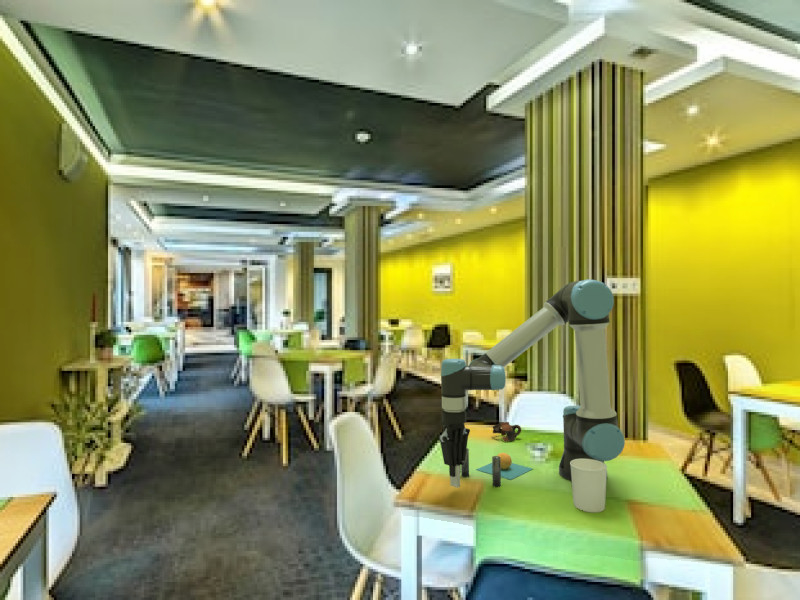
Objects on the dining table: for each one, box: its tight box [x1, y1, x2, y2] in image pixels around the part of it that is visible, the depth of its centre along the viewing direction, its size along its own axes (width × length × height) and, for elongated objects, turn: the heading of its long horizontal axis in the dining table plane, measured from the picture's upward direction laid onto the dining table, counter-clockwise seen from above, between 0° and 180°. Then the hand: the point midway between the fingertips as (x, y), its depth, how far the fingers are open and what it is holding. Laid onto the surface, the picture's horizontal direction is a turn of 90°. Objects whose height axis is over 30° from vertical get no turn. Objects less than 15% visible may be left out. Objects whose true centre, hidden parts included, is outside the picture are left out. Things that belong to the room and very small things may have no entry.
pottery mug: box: [492, 421, 522, 442], centre depth 204 cm, size 12×10×8 cm
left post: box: [460, 447, 470, 478], centre depth 162 cm, size 3×3×9 cm
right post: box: [491, 455, 502, 488], centre depth 153 cm, size 3×3×9 cm
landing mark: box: [475, 462, 534, 481], centre depth 167 cm, size 14×14×1 cm
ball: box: [496, 452, 513, 469], centre depth 168 cm, size 6×6×6 cm
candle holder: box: [570, 459, 608, 514], centre depth 136 cm, size 10×10×12 cm
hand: (455, 485), depth 148 cm, fingers closed
